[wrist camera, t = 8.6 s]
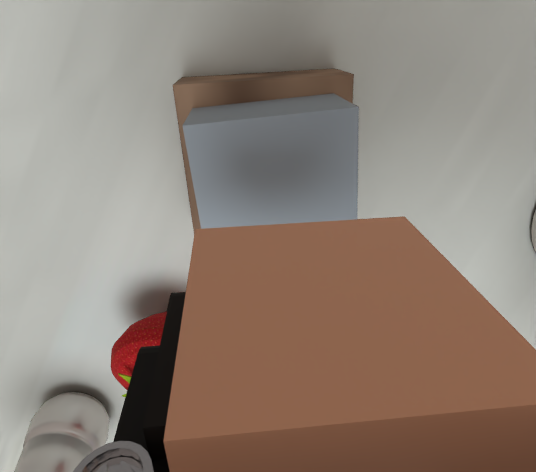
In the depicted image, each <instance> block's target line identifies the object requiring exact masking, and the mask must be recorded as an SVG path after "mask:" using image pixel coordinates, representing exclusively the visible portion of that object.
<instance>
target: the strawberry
mask: <svg viewBox="0 0 536 472" xmlns="http://www.w3.org/2000/svg"><path fill="white" fill-rule="evenodd" d="M166 314H167V311H166V312H163V313H158V314H154V315H152V316H149V317H147V318H145V319H142V320H140V321H138V322H136V323H134V324H133V325H131V326H130V327H129V328H128V329H127V330H126V331H125V332H124V333H123V335H122V336H121V337H120V338H119V339H118V340H117V341H116V342H115V344H114V346H113V348H112V354H111V370H112V373H113V375H114V377H115V378H116V379H117V380H118V381H119V383H120V384H121V385H122V386H123V387H124V388H125V389H127V390H128V387H129V383H130V380H131V376H132V372H133V369H134V365H135V361H136V358H137V354H138V351H139V349H140V348H141V347H145V346H158V345H160V342H161V338H162V333H163V328H164V323H165V318H166ZM122 396H123V397H126V394H124V395H122Z"/></svg>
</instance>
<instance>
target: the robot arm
mask: <svg viewBox="0 0 536 472" xmlns="http://www.w3.org/2000/svg"><path fill="white" fill-rule="evenodd" d="M531 232H532V243H533V246H534V249H535V252H536V211H535V213H534V216H533V222H532V229H531ZM185 295H186V292H181V293H171V295H170V299H169V304H168V309H167V314H166V318H165V323H164V328H163V333H162V338H161V342H160V345H158V346H145V347H141V348H140V349H139V351H138V354H137V358H136V361H135V365H134V369H133V372H132V376H131V380H130V383H129V387H128V391H127V394H126V398H125V401H124V405H123V409H122V412H121V416H120V420H119V423H118V427H117V431H116V434H115V438H114V442H112V443H108V444H105V445H103V446H101V447H99V448H97V449H95V450H94V451H92V452H91V453H90V454H89V455H87V456H86V457H85V458H84V459H83V460H82V461H81V462H80V463H79V464H78V466H77V467H76V468H75V469H74V471H73V472H170V471H169V466H168V461H167V456H166V451H165V447H164V442H163V440H164V434H165V427H166V421H167V414H168V407H169V401H170V394H171V387H172V381H173V374H174V368H175V361H176V354H177V348H178V341H179V335H180V328H181V321H182V315H183V308H184V301H185Z"/></svg>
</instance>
